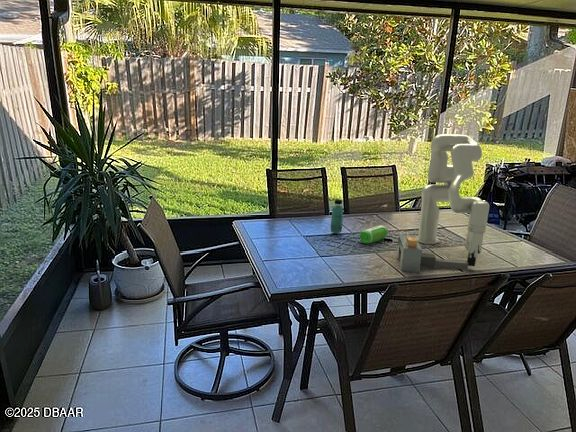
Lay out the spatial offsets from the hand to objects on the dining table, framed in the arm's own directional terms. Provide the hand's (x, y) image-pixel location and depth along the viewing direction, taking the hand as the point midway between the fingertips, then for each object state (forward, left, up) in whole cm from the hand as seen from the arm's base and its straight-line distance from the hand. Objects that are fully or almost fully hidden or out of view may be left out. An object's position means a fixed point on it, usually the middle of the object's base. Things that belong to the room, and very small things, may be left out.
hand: (470, 265), depth 196 cm
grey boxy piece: (0, -29, -2) cm, 29 cm away
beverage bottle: (-37, -64, -2) cm, 74 cm away
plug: (0, -14, -2) cm, 14 cm away
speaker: (-30, -43, -2) cm, 53 cm away
